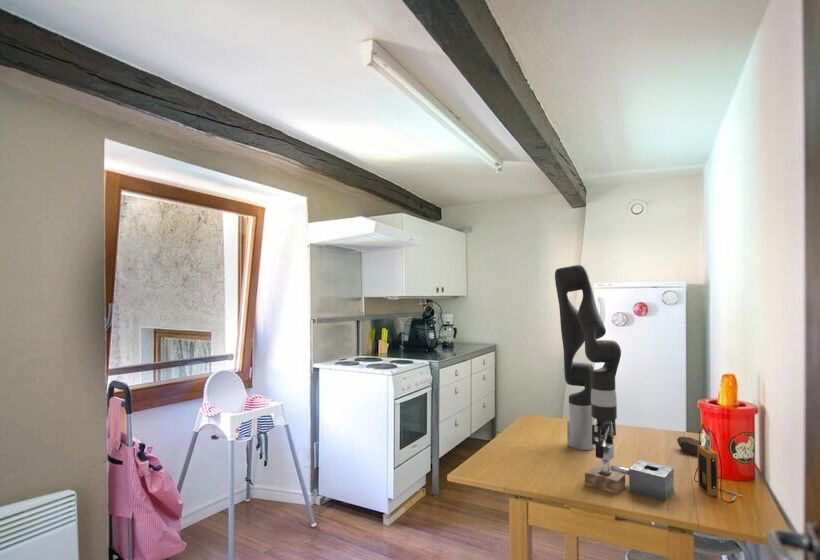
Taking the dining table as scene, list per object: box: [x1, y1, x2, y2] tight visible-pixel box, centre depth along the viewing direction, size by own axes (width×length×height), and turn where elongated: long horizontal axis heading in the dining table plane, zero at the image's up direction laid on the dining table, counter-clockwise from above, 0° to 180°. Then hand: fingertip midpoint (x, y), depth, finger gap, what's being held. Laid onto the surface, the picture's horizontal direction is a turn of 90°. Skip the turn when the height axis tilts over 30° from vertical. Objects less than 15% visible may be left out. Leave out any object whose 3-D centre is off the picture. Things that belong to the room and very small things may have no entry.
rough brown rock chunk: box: [677, 436, 702, 457], centre depth 173 cm, size 6×7×10 cm
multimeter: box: [693, 424, 743, 504], centre depth 140 cm, size 15×10×20 cm
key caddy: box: [584, 465, 626, 495], centre depth 145 cm, size 10×7×4 cm
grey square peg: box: [599, 442, 615, 476], centre depth 145 cm, size 4×4×12 cm
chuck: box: [610, 459, 675, 502], centre depth 143 cm, size 17×10×7 cm, turn 47°
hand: (604, 454), depth 145 cm, fingers open, 8 cm apart
